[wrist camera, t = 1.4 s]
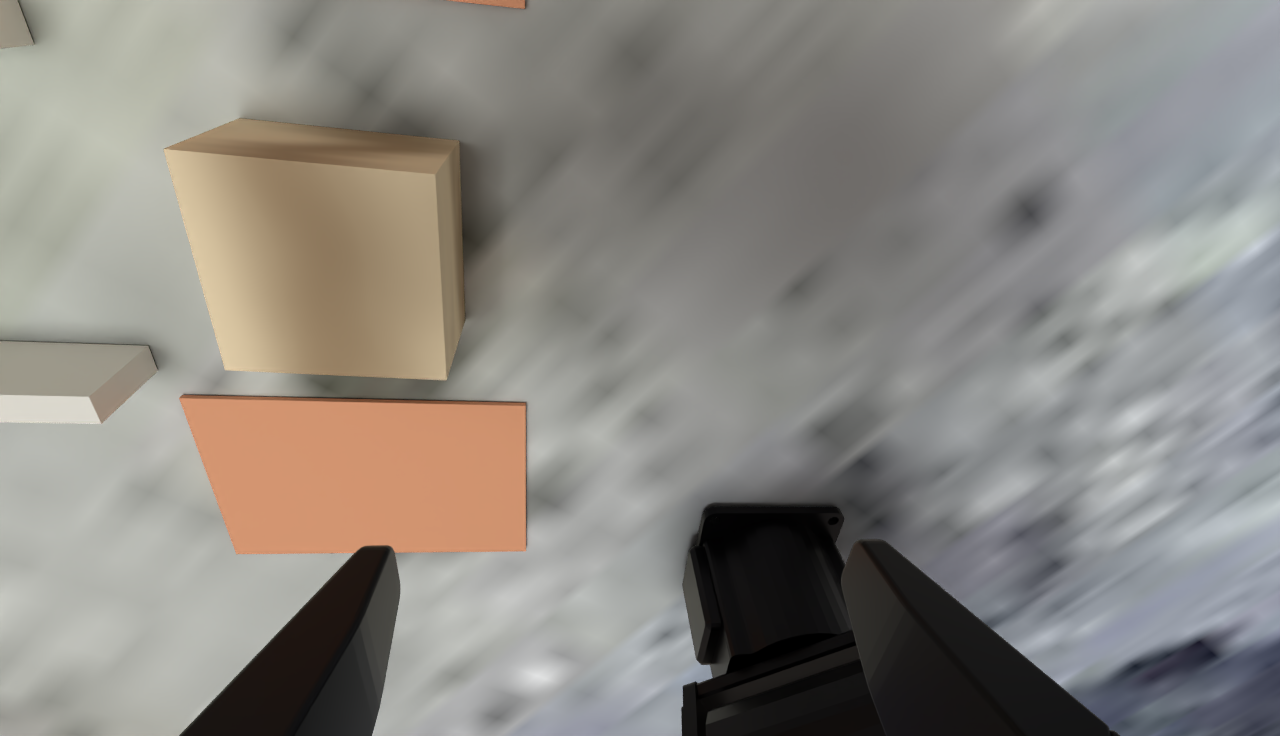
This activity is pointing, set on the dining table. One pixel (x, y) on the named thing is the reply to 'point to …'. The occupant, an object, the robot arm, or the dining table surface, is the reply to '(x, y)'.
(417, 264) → the block
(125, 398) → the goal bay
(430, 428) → the mats
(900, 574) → the robot arm
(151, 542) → the dining table surface
